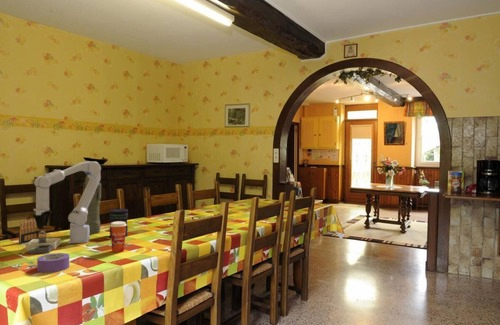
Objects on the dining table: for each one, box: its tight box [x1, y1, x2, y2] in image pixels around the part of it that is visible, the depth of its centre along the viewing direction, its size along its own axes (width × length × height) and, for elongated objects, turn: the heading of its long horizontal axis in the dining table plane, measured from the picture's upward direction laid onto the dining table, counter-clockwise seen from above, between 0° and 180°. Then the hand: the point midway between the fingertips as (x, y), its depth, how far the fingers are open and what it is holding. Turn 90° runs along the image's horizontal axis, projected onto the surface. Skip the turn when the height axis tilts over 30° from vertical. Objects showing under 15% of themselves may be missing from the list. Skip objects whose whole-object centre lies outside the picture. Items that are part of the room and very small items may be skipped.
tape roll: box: [36, 252, 70, 274], centre depth 150 cm, size 12×12×5 cm
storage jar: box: [109, 208, 129, 238], centre depth 208 cm, size 10×10×15 cm
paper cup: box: [109, 221, 128, 253], centre depth 177 cm, size 8×8×14 cm
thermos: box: [82, 175, 102, 235], centre depth 214 cm, size 9×12×35 cm
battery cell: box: [39, 230, 47, 243], centre depth 179 cm, size 3×3×8 cm
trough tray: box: [25, 237, 62, 251], centre depth 181 cm, size 13×10×3 cm
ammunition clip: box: [18, 218, 41, 245], centre depth 192 cm, size 11×2×12 cm, turn 158°
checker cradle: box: [27, 245, 53, 255], centre depth 173 cm, size 9×6×2 cm, turn 105°
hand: (42, 227), depth 180 cm, fingers open, 7 cm apart
